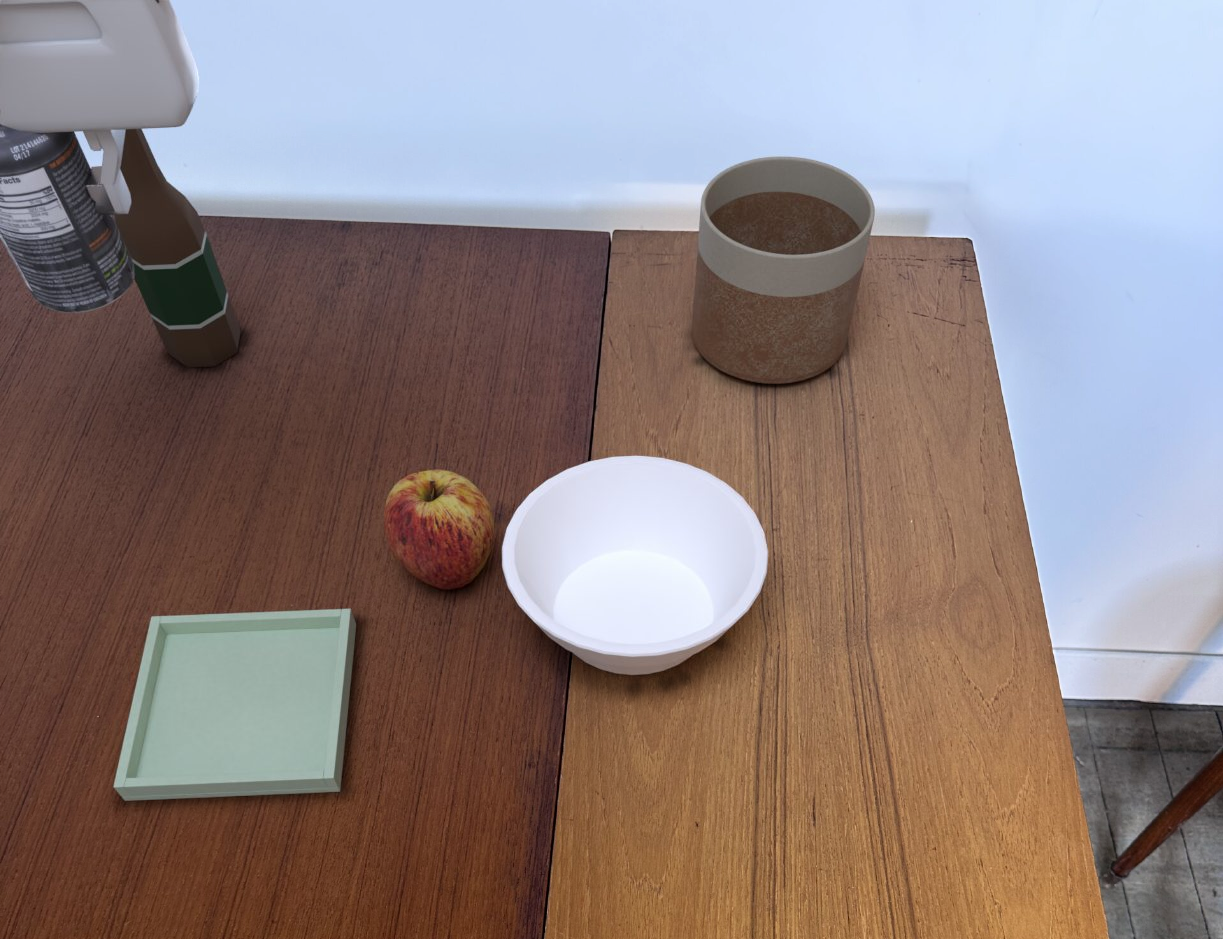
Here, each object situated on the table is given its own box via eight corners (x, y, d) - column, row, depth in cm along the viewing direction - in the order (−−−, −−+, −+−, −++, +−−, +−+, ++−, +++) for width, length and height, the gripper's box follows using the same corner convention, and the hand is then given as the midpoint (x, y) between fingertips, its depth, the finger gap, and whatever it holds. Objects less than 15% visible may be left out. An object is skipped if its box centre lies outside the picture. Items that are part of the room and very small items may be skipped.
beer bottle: (220, 377, 102) (118, 118, 81) (153, 361, 103) (35, 102, 82) (257, 330, 106) (168, 71, 85) (192, 315, 107) (88, 56, 86)
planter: (659, 335, 105) (665, 200, 93) (765, 272, 110) (783, 136, 98) (771, 412, 99) (792, 279, 87) (877, 341, 104) (911, 206, 92)
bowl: (782, 698, 83) (798, 633, 75) (526, 734, 81) (518, 671, 74) (726, 512, 93) (735, 440, 85) (497, 541, 91) (487, 470, 84)
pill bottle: (91, 242, 61) (-13, 21, 51) (159, 275, 59) (66, 54, 49) (11, 293, 59) (-114, 73, 49) (80, 330, 57) (-35, 109, 47)
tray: (124, 801, 78) (112, 787, 76) (161, 632, 86) (151, 616, 84) (340, 791, 78) (333, 777, 77) (356, 624, 86) (350, 608, 85)
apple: (379, 592, 88) (352, 506, 79) (425, 521, 92) (405, 432, 83) (473, 622, 87) (457, 537, 78) (516, 548, 91) (505, 460, 82)
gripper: (145, -155, 45) (246, 170, 57) (-324, -137, 44) (-121, 187, 57) (119, -92, 42) (233, 237, 54) (-384, -73, 41) (-156, 255, 54)
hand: (48, 212), depth 55 cm, fingers closed on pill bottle, 6 cm apart
